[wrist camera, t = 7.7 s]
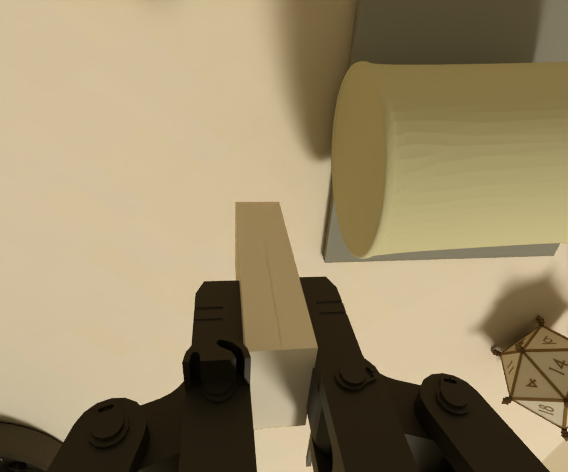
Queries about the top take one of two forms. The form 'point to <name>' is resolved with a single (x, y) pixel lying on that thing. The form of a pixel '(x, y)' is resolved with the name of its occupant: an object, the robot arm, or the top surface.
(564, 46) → the mat
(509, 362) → the game die
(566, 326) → the top surface
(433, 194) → the can
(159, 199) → the top surface
